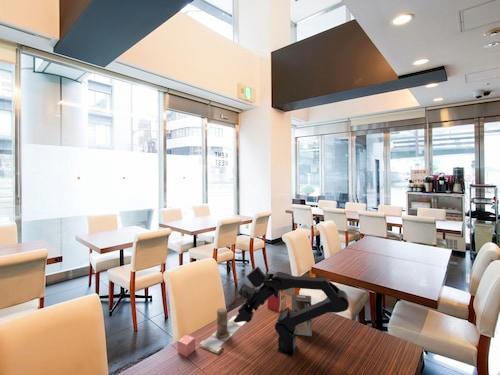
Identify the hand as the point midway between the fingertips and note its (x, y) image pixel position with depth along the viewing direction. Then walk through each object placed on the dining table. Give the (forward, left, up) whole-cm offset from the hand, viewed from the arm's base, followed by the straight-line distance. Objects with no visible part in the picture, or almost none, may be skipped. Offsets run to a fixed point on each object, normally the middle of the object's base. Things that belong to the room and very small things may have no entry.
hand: (237, 315), depth 113 cm
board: (+7, -1, -11) cm, 13 cm away
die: (+15, +17, -11) cm, 25 cm away
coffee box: (-22, -20, -11) cm, 32 cm away
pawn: (+7, +2, -10) cm, 12 cm away
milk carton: (-3, -33, -11) cm, 35 cm away
